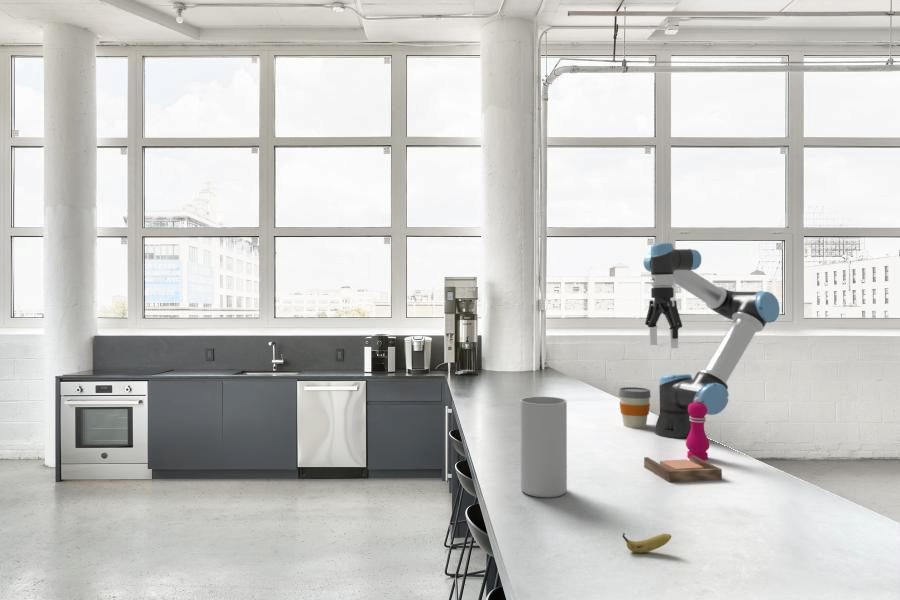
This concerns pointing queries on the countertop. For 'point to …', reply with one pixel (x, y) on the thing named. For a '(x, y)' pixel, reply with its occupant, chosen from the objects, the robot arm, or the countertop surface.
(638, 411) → the reusable coffee cup
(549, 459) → the cylinder vase
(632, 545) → the banana
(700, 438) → the pepper mill
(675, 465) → the terracotta tile
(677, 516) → the countertop surface
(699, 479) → the walnut frame
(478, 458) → the countertop surface
